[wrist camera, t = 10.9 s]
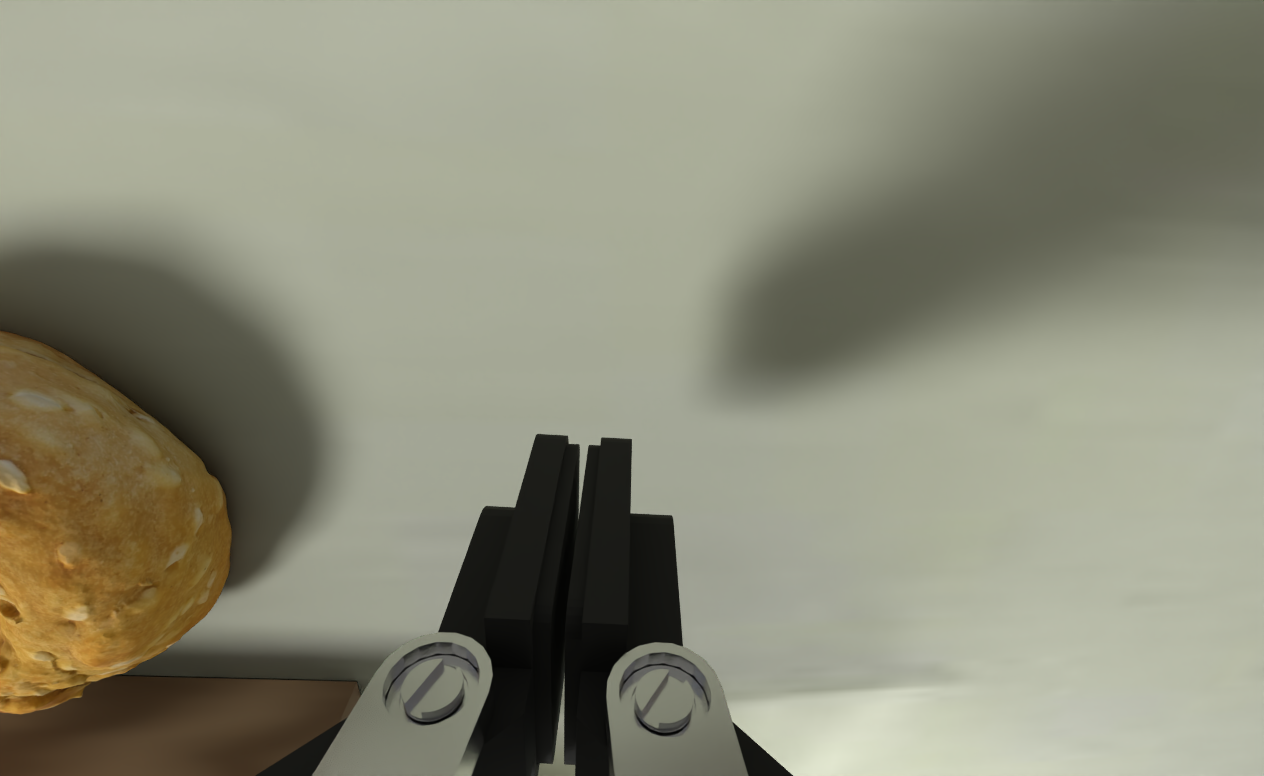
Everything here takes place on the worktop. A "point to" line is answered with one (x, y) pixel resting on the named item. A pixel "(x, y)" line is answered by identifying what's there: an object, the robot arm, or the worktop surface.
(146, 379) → the worktop surface
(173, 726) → the box
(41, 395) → the bagel
